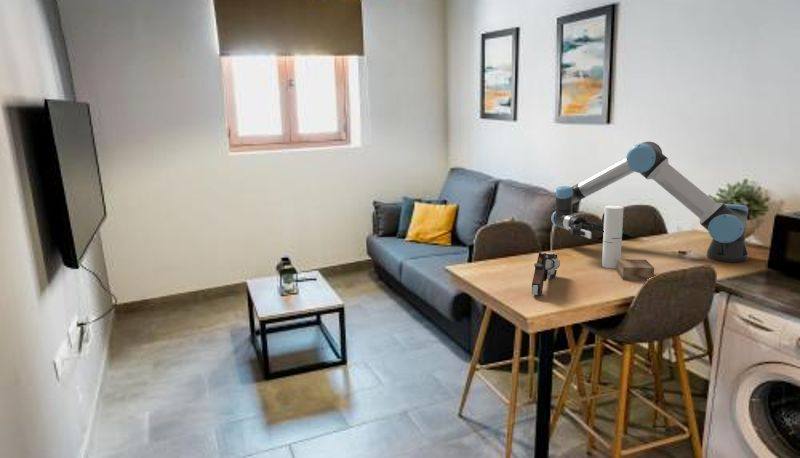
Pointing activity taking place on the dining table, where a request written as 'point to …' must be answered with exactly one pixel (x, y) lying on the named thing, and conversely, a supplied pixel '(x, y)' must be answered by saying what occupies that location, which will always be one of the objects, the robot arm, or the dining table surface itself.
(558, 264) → the toy gun
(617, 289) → the dining table surface
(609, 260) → the cylindrical container
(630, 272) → the base block
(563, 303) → the dining table surface
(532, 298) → the dining table surface
